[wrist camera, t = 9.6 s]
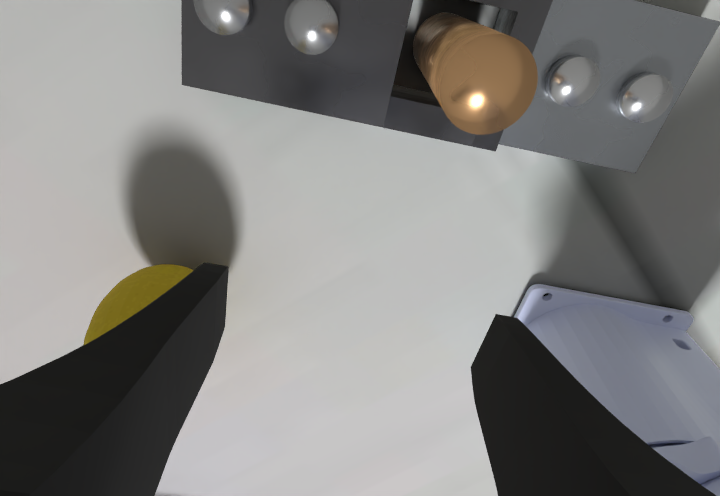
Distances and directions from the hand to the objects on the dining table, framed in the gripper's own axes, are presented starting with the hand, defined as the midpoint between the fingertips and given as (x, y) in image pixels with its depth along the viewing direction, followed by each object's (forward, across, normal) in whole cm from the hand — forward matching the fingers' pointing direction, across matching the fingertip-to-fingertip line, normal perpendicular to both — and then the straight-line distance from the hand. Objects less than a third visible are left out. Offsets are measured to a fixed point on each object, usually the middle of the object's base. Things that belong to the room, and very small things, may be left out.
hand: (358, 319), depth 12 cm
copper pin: (+10, -2, -6) cm, 12 cm away
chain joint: (+10, -2, -6) cm, 12 cm away
